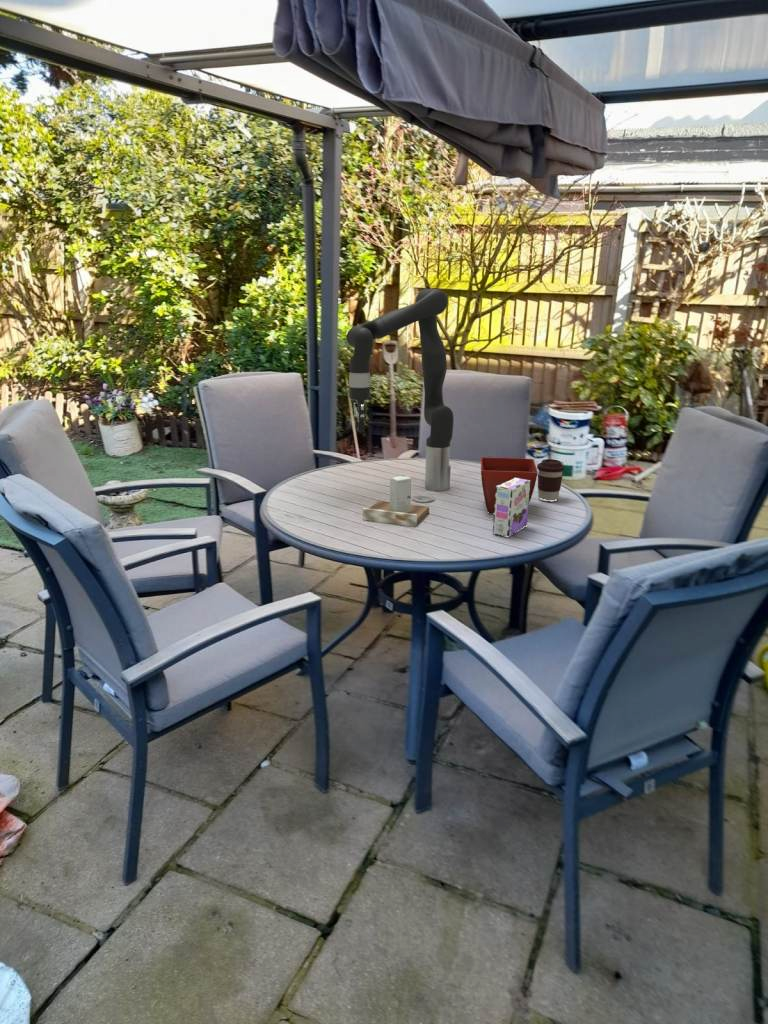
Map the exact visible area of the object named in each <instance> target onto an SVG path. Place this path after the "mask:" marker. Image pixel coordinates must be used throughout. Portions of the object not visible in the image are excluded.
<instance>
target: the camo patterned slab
mask: <svg viewBox="0 0 768 1024" xmlns="http://www.w3.org/2000/svg"><path fill="white" fill-rule="evenodd" d="M429 514H430V506H426V505H419V504H411V505H410V512H409V513H402V512H394V511H390V501H385V500H384V501H383V500H377V501H376V502H375V503H374V504H372V505H371V506H370V507H363V508H362V520H363V521H367V520H369V521H368V522H375V523H381V524H383V523H384V524H391V525H399V526H405V527H413V526H414V527H417V526H418V525H419V524H420V523H422V522H423V520H424V519H425V518H426V517H427V516H428V515H429Z"/></svg>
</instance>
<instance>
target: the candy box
mask: <svg viewBox="0 0 768 1024" xmlns="http://www.w3.org/2000/svg"><path fill="white" fill-rule="evenodd" d="M529 492H530V480H525V479H520V478H514V479H512V480H510V481H507V482H505V483H503V484H500V485H498V486H496V493H495V508H494V514H493V523H492V525H493V526H492V535H495V534H498V535H503V536H510V535H512V534H514V533H515V532H517V531H518V530H520V529H521V528H523V527H524V526H526V525H527V526H528V517H529V504H530V503H529ZM517 533H518V532H517ZM498 535H497V536H498ZM514 535H515V534H514ZM512 536H513V535H512Z"/></svg>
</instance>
